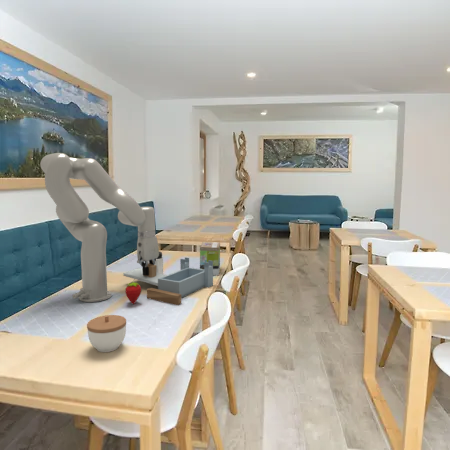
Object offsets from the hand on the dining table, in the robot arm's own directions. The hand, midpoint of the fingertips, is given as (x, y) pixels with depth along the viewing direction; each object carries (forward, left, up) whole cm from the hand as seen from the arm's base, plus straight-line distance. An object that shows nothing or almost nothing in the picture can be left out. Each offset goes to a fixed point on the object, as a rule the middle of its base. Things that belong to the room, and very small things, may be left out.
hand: (148, 273), depth 163 cm
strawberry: (-21, -11, -6) cm, 25 cm away
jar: (+14, +8, -6) cm, 17 cm away
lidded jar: (-52, -30, -6) cm, 61 cm away
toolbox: (+3, -18, -6) cm, 19 cm away
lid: (0, 0, -2) cm, 2 cm away
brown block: (-13, -19, -6) cm, 24 cm away
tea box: (+35, -12, -6) cm, 37 cm away
